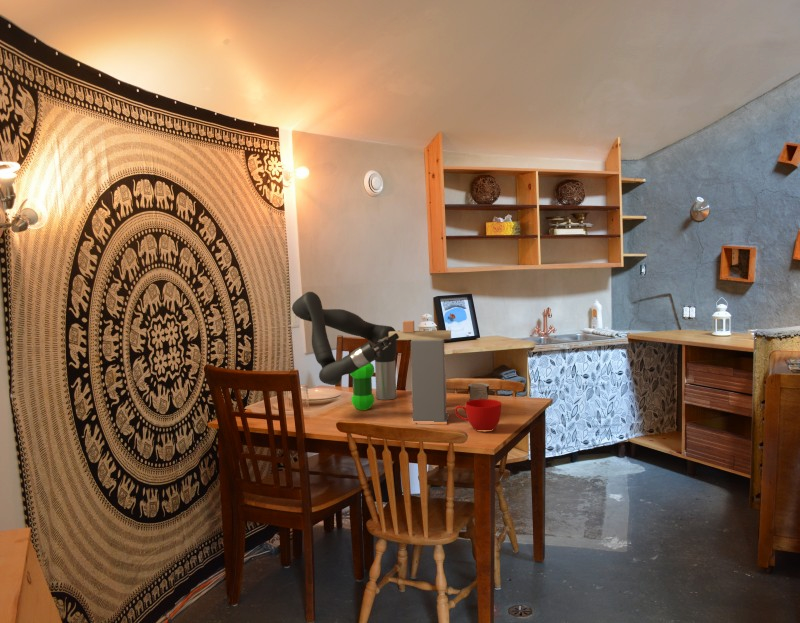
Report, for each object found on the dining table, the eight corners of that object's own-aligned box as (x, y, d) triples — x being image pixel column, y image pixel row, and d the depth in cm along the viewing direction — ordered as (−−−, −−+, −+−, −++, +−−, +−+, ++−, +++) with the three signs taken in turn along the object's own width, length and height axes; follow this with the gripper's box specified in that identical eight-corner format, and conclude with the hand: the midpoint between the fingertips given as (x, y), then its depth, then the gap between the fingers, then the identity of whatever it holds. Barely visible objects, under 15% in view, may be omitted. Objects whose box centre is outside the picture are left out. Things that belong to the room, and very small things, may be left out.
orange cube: (404, 331, 246) (404, 320, 246) (414, 330, 245) (414, 320, 245) (403, 332, 242) (402, 322, 242) (413, 332, 242) (413, 321, 241)
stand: (414, 415, 254) (411, 336, 251) (448, 415, 252) (446, 336, 249) (410, 424, 240) (407, 341, 237) (446, 424, 238) (444, 341, 235)
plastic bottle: (355, 412, 261) (353, 353, 259) (348, 407, 270) (346, 350, 268) (378, 409, 264) (376, 351, 262) (370, 404, 274) (368, 348, 272)
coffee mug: (491, 411, 256) (490, 386, 256) (470, 411, 256) (469, 387, 256) (486, 404, 268) (486, 381, 267) (466, 405, 268) (466, 382, 267)
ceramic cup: (456, 424, 237) (456, 398, 237) (502, 425, 235) (501, 399, 234) (454, 434, 225) (453, 407, 224) (501, 435, 222) (501, 407, 221)
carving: (487, 416, 248) (487, 386, 247) (468, 416, 249) (468, 386, 248) (488, 412, 254) (487, 383, 253) (469, 412, 255) (469, 383, 254)
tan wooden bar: (390, 338, 247) (389, 331, 246) (451, 337, 244) (450, 330, 243) (388, 340, 243) (388, 332, 243) (450, 339, 240) (450, 331, 240)
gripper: (356, 349, 240) (391, 327, 237) (363, 344, 254) (396, 323, 251) (366, 366, 240) (402, 344, 237) (372, 359, 254) (406, 339, 251)
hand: (399, 333), depth 244 cm, fingers open, 8 cm apart
